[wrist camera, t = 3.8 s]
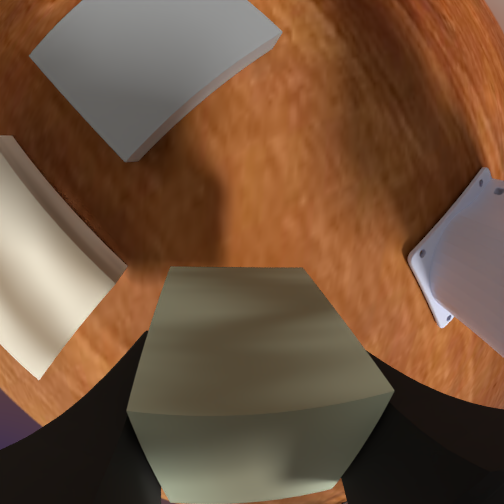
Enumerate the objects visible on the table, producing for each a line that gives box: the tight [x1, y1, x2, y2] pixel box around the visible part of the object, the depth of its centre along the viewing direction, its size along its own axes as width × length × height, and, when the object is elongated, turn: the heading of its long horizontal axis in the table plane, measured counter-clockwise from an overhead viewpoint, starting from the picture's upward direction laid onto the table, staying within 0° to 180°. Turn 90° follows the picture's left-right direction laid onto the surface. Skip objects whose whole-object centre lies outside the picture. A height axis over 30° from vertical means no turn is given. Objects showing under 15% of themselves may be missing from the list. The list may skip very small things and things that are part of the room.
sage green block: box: [127, 266, 395, 504], centre depth 7 cm, size 4×4×6 cm
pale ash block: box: [0, 135, 128, 380], centre depth 11 cm, size 10×10×2 cm
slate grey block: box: [29, 0, 282, 162], centre depth 8 cm, size 8×8×2 cm
